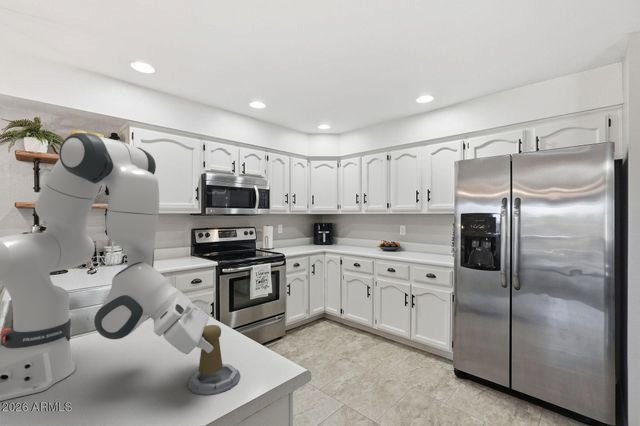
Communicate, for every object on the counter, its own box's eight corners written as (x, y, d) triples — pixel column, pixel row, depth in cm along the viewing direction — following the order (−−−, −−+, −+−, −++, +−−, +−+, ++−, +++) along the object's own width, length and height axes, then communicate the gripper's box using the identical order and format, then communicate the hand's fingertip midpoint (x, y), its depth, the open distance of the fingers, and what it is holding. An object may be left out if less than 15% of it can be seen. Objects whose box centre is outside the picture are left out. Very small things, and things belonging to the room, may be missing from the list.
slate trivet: (199, 402, 70) (199, 395, 70) (181, 379, 79) (181, 373, 79) (248, 381, 79) (248, 375, 79) (226, 363, 88) (226, 357, 88)
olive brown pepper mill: (214, 375, 75) (215, 331, 75) (193, 372, 76) (193, 329, 76) (226, 363, 81) (227, 323, 81) (206, 361, 82) (207, 321, 82)
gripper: (174, 308, 86) (209, 339, 88) (151, 335, 66) (197, 374, 68) (191, 292, 87) (225, 323, 89) (173, 313, 67) (217, 353, 69)
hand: (213, 345), depth 79 cm, fingers closed on olive brown pepper mill, 4 cm apart
